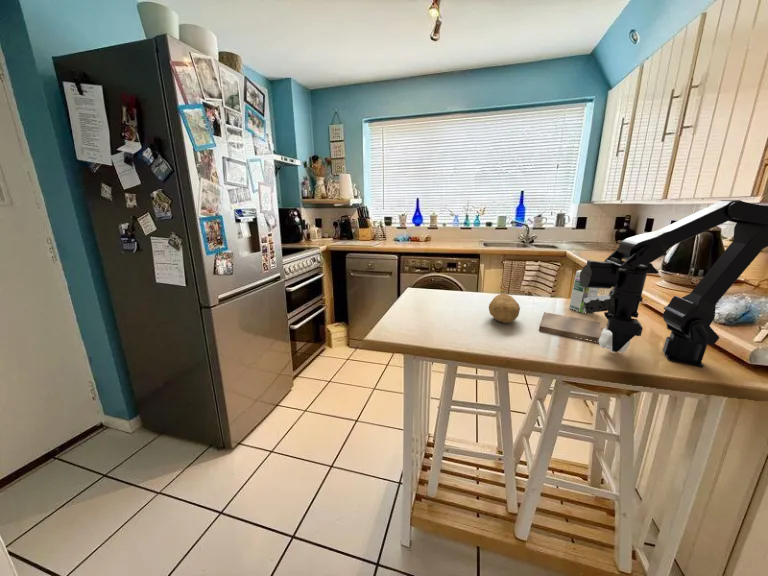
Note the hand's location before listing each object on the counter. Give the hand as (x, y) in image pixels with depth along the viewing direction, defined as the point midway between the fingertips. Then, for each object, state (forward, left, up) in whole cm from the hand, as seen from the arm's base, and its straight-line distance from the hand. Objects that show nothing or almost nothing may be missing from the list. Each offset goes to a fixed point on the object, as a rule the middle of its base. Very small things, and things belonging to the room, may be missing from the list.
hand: (613, 346), depth 80 cm
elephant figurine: (0, 0, -1) cm, 1 cm away
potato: (+29, -7, -2) cm, 30 cm away
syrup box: (+7, -33, -2) cm, 34 cm away
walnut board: (+10, -12, -2) cm, 16 cm away
